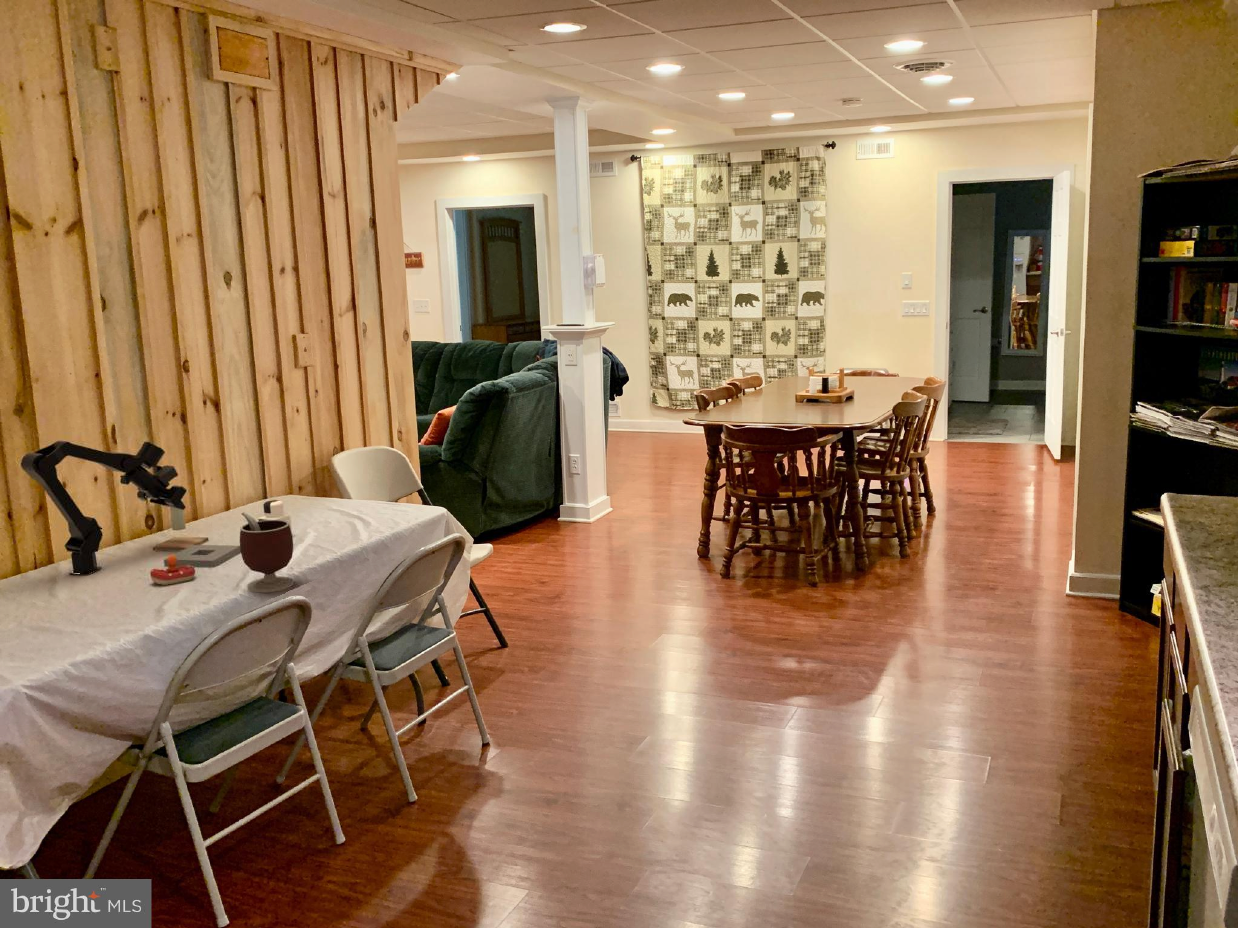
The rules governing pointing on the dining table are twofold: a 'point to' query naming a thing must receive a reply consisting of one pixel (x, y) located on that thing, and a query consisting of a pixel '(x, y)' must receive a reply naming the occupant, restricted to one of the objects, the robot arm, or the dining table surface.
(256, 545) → the mate gourd
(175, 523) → the key peg
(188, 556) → the cover plate
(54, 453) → the robot arm
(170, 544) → the copper sheet
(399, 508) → the dining table surface
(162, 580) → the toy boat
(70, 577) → the dining table surface
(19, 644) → the dining table surface
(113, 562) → the dining table surface
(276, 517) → the medicine bottle
